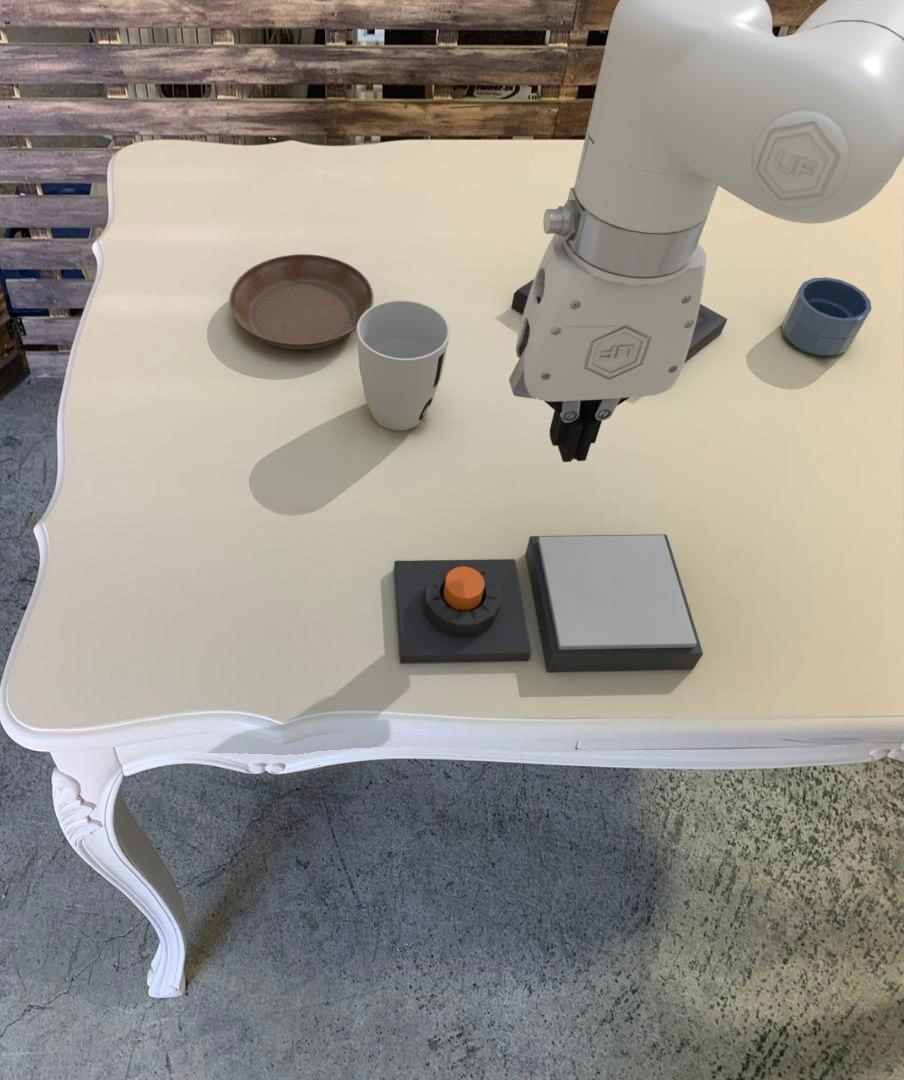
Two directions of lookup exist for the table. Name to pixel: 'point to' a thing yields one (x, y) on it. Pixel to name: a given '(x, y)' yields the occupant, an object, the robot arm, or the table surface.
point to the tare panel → (459, 614)
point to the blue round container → (825, 316)
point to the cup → (401, 360)
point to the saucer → (301, 300)
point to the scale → (610, 604)
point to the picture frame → (703, 334)
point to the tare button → (463, 588)
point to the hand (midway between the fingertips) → (568, 447)
